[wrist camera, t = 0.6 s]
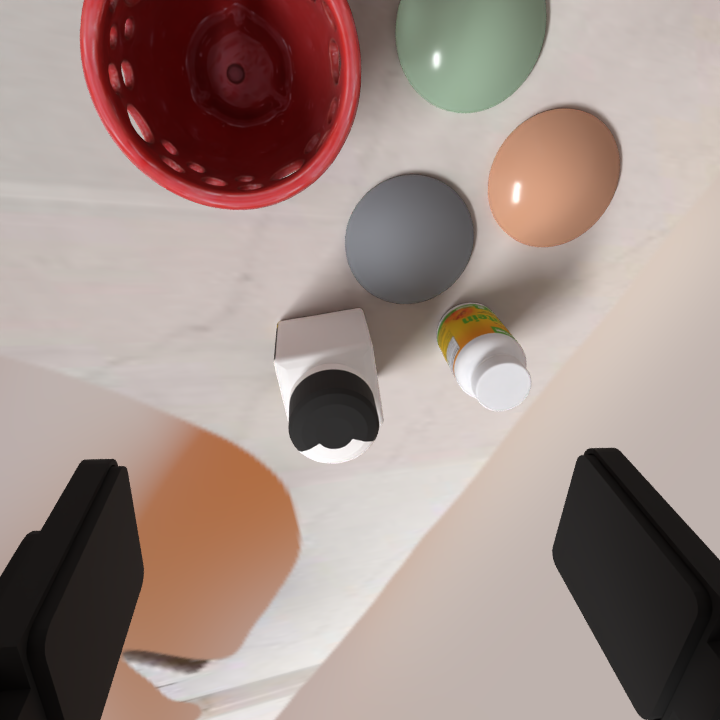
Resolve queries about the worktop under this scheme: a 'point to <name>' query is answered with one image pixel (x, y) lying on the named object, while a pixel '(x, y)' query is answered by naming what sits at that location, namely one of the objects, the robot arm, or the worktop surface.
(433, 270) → the slate grey coaster
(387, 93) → the worktop surface
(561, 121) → the peach coaster
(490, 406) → the supplement bottle
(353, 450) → the medicine bottle
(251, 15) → the plant pot
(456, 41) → the sage green coaster
